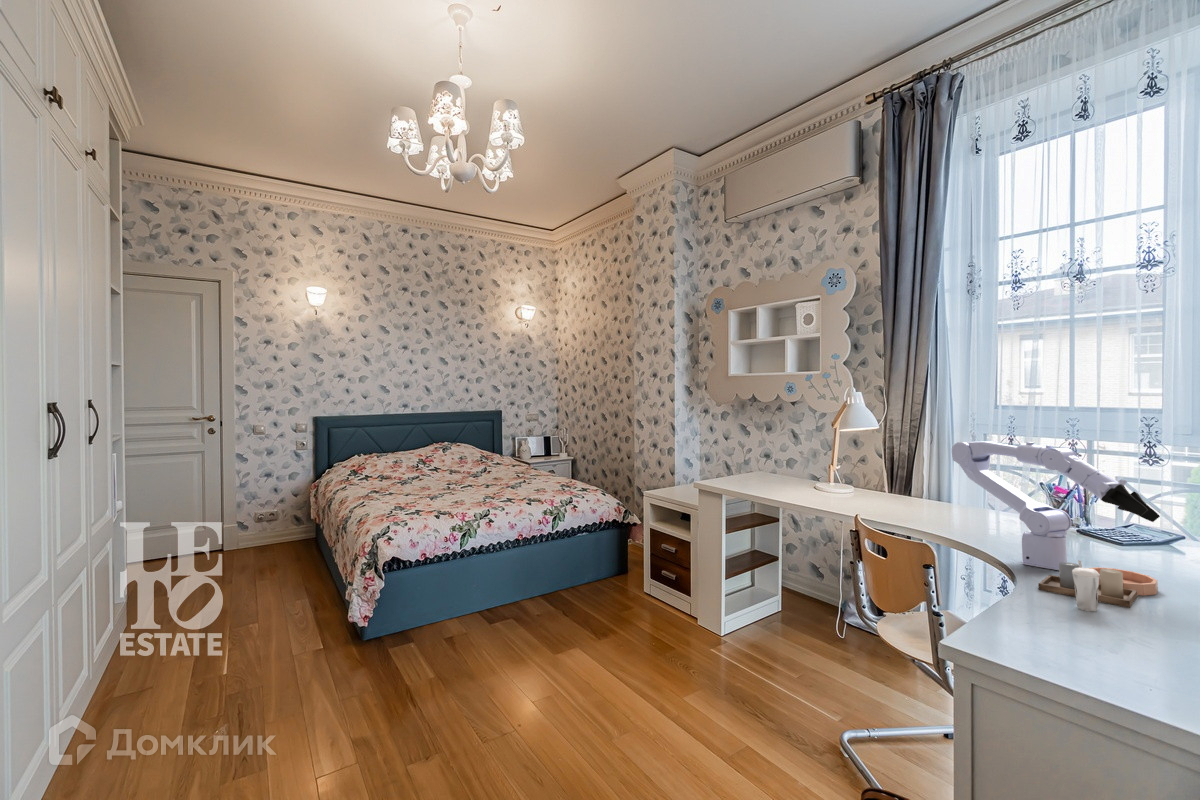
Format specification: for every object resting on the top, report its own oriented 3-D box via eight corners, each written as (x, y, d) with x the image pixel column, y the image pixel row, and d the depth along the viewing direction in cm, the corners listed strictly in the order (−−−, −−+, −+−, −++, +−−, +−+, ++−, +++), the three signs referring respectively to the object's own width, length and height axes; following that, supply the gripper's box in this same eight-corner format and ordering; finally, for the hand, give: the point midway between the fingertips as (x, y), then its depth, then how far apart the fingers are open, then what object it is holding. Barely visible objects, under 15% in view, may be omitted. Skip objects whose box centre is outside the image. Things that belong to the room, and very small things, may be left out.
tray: (1038, 589, 129) (1038, 583, 129) (1049, 580, 135) (1049, 574, 135) (1129, 607, 117) (1129, 601, 117) (1137, 597, 123) (1136, 590, 123)
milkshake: (1094, 605, 119) (1092, 561, 119) (1105, 614, 114) (1103, 568, 114) (1068, 602, 121) (1066, 559, 121) (1078, 611, 116) (1076, 566, 116)
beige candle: (1099, 596, 123) (1098, 571, 123) (1102, 592, 125) (1101, 567, 125) (1122, 601, 120) (1120, 575, 120) (1125, 597, 122) (1123, 571, 122)
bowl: (1078, 585, 131) (1077, 575, 131) (1089, 574, 139) (1089, 564, 139) (1152, 599, 121) (1152, 588, 121) (1160, 586, 129) (1160, 576, 129)
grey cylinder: (1058, 588, 129) (1057, 564, 129) (1062, 585, 131) (1061, 561, 131) (1078, 592, 126) (1077, 567, 126) (1082, 588, 128) (1081, 564, 128)
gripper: (1093, 461, 132) (1153, 497, 121) (1116, 474, 139) (1175, 509, 127) (1071, 482, 135) (1128, 519, 124) (1094, 493, 141) (1150, 530, 130)
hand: (1150, 516), depth 126 cm, fingers open, 7 cm apart
